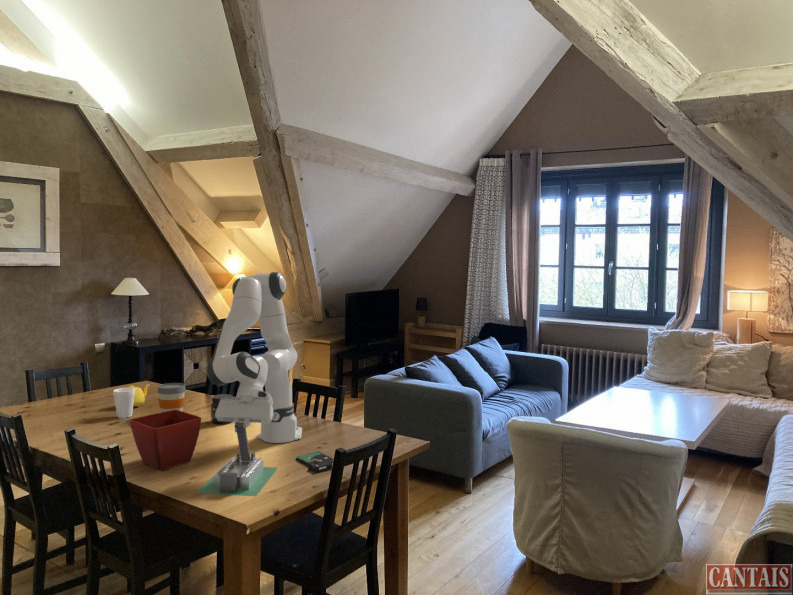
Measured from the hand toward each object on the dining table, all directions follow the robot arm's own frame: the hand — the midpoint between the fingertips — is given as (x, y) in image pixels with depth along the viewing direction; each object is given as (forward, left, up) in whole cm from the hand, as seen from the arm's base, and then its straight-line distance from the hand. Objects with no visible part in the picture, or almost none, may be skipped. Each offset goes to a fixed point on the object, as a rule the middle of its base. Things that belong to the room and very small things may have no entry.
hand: (239, 431), depth 212 cm
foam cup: (-71, -81, -17) cm, 109 cm away
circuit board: (+4, +1, -17) cm, 17 cm away
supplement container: (-68, -32, -17) cm, 77 cm away
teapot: (-90, -87, -17) cm, 126 cm away
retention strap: (+1, +1, -4) cm, 5 cm away
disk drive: (-17, +24, -17) cm, 34 cm away
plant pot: (-13, -33, -17) cm, 39 cm away
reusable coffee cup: (-74, -59, -17) cm, 96 cm away
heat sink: (+5, +1, -16) cm, 17 cm away
